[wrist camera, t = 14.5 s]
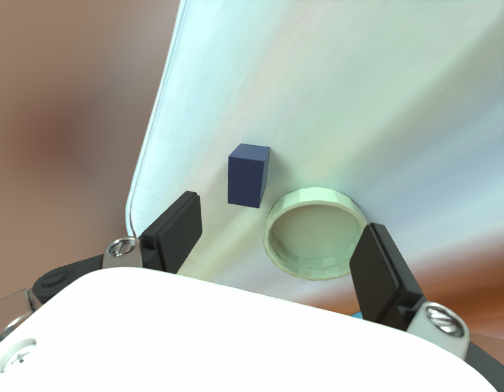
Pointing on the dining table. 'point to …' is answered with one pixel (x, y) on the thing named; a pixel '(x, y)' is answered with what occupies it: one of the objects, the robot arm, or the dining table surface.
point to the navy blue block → (247, 175)
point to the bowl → (313, 233)
